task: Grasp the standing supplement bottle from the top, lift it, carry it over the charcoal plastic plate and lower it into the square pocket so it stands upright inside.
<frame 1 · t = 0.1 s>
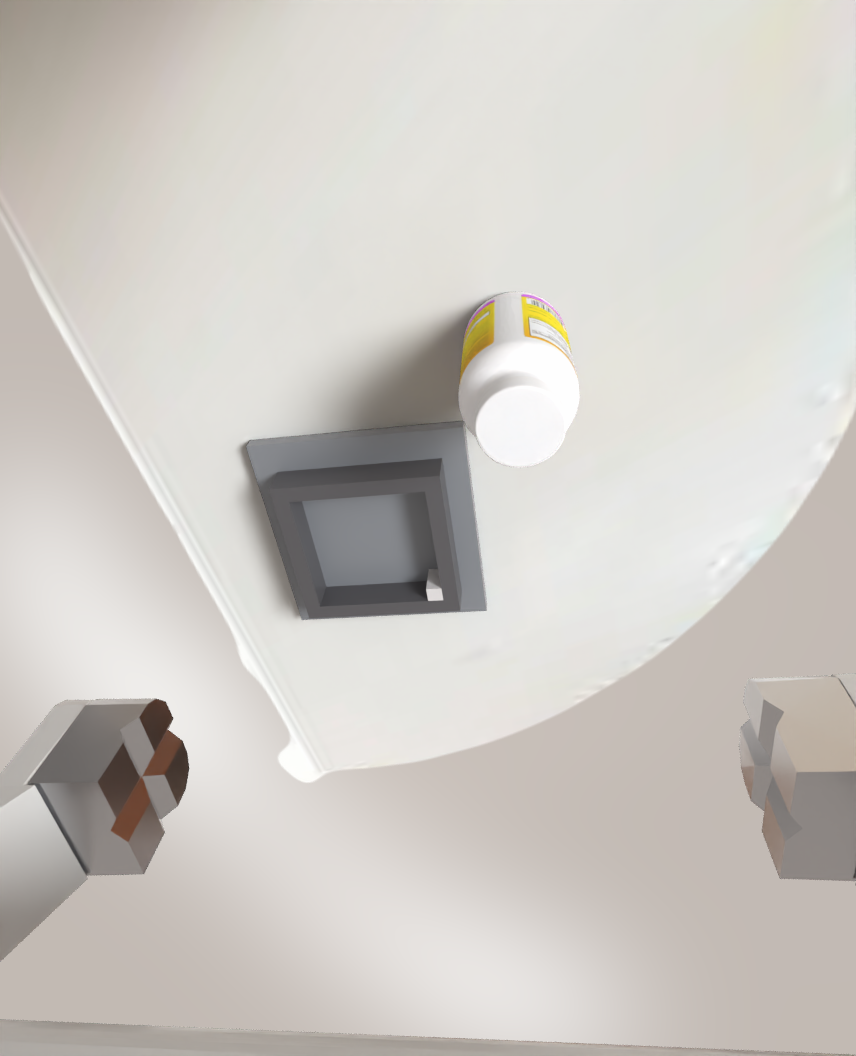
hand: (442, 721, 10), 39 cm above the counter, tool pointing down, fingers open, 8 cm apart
supplement bottle: (515, 338, 46), on the counter
pocket plate: (375, 526, 56), on the counter
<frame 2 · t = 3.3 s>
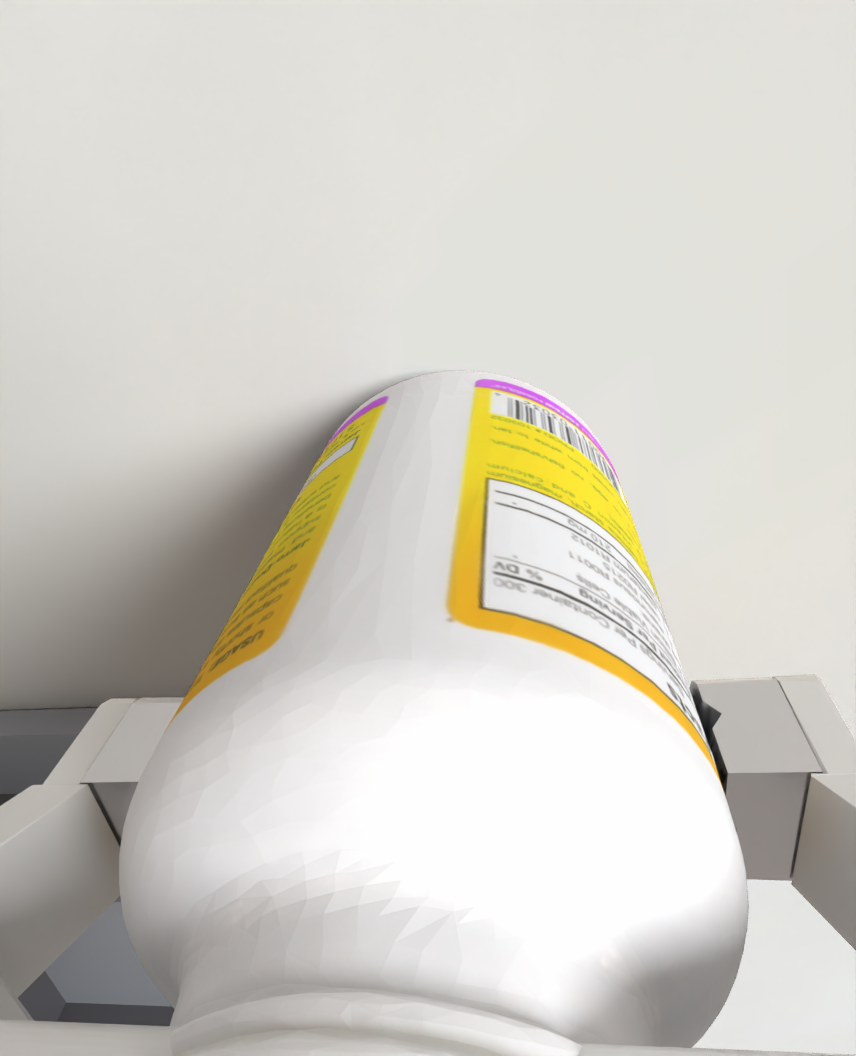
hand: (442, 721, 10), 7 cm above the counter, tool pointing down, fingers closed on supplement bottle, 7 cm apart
supplement bottle: (466, 503, 16), on the counter, touching gripper
pocket plate: (160, 895, 24), on the counter
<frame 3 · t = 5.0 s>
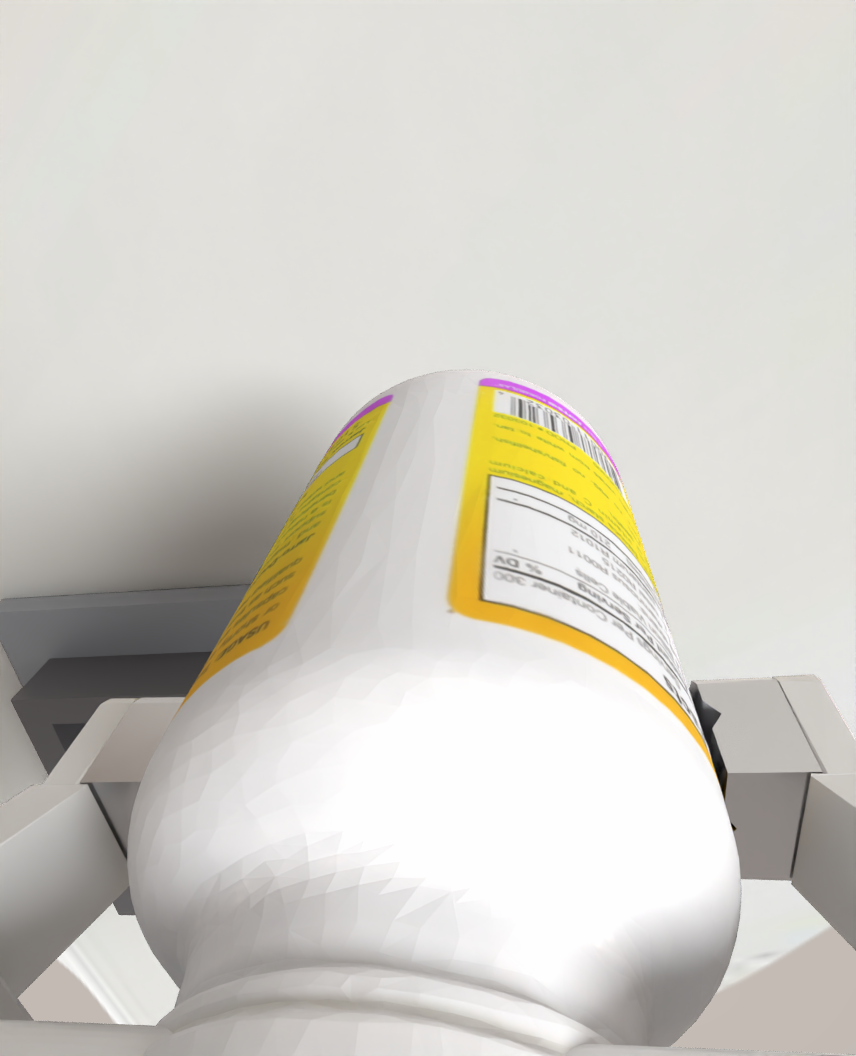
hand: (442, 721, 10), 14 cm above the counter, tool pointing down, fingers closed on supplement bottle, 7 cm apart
supplement bottle: (470, 501, 16), point 7 cm above the counter, touching gripper
pocket plate: (241, 751, 31), on the counter
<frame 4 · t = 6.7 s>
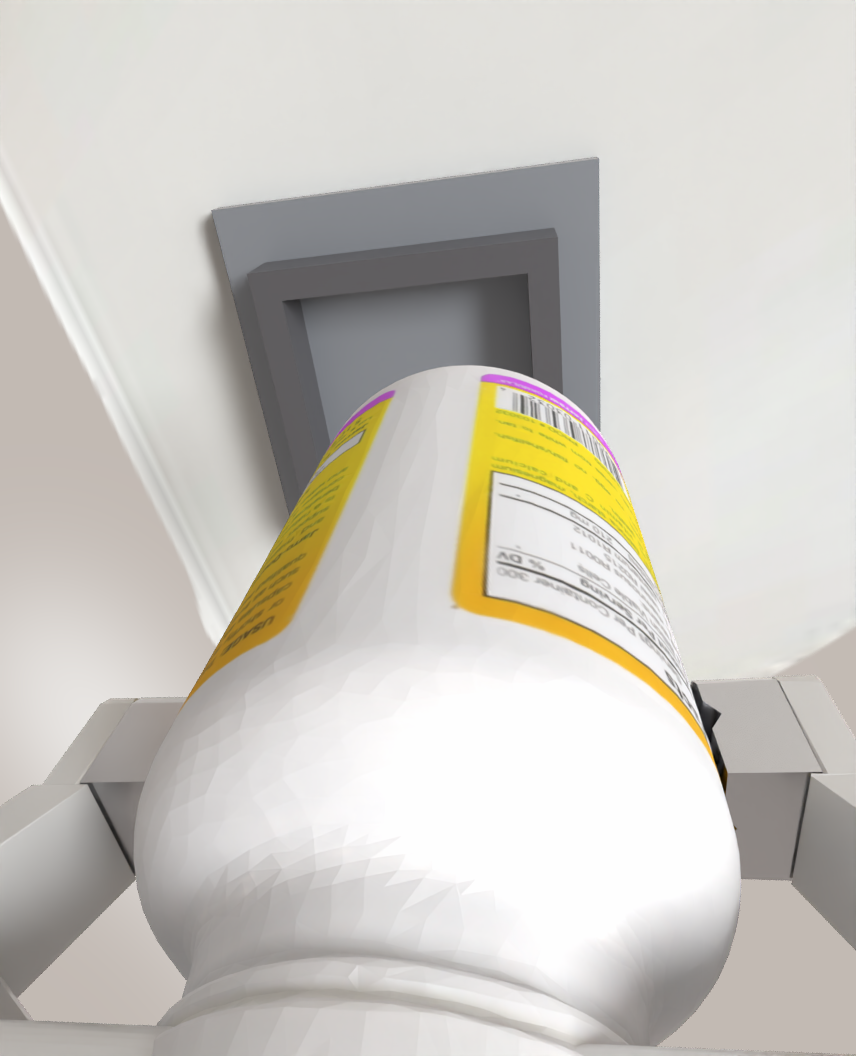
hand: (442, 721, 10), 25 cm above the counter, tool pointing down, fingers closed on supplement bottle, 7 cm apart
supplement bottle: (472, 496, 16), point 18 cm above the counter, touching gripper
pocket plate: (426, 379, 34), on the counter
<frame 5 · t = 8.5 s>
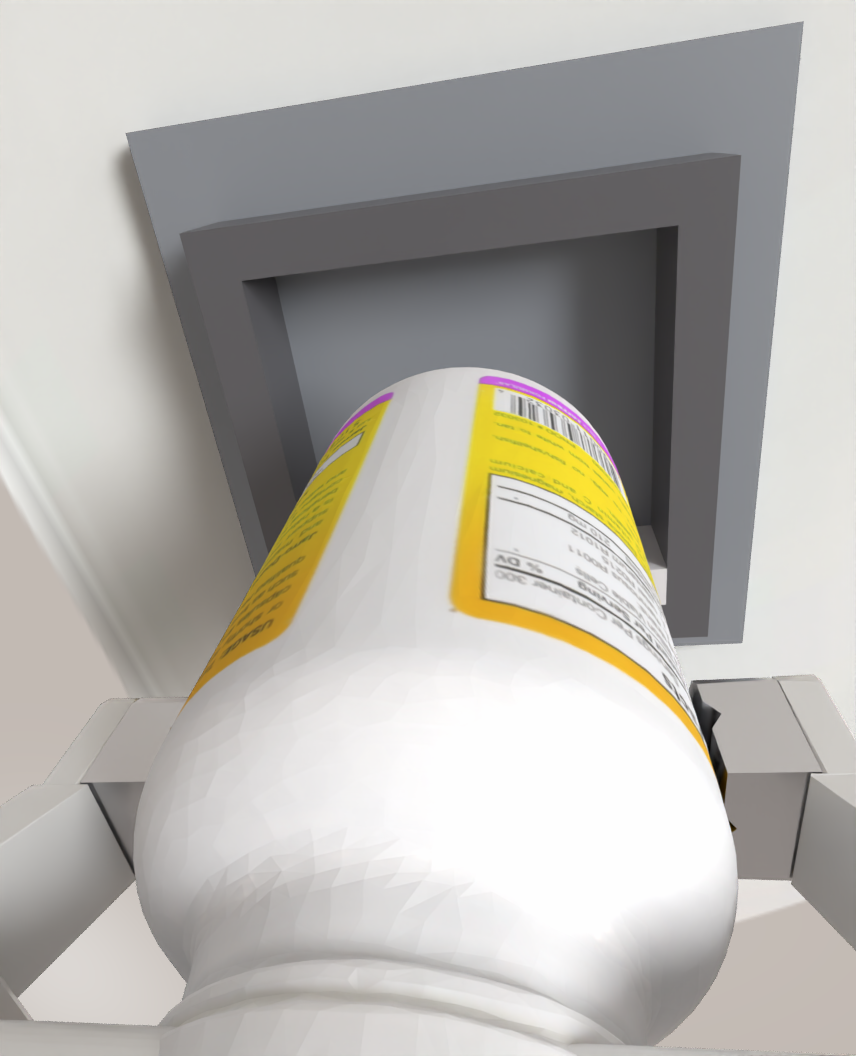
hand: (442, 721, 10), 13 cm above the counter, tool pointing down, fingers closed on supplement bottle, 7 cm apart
supplement bottle: (470, 498, 16), point 6 cm above the counter, touching gripper
pocket plate: (477, 411, 21), on the counter
when the fingers open (9 cm above the counter, at t = 9.9 s): supplement bottle drops 1 cm, resting on pocket plate.
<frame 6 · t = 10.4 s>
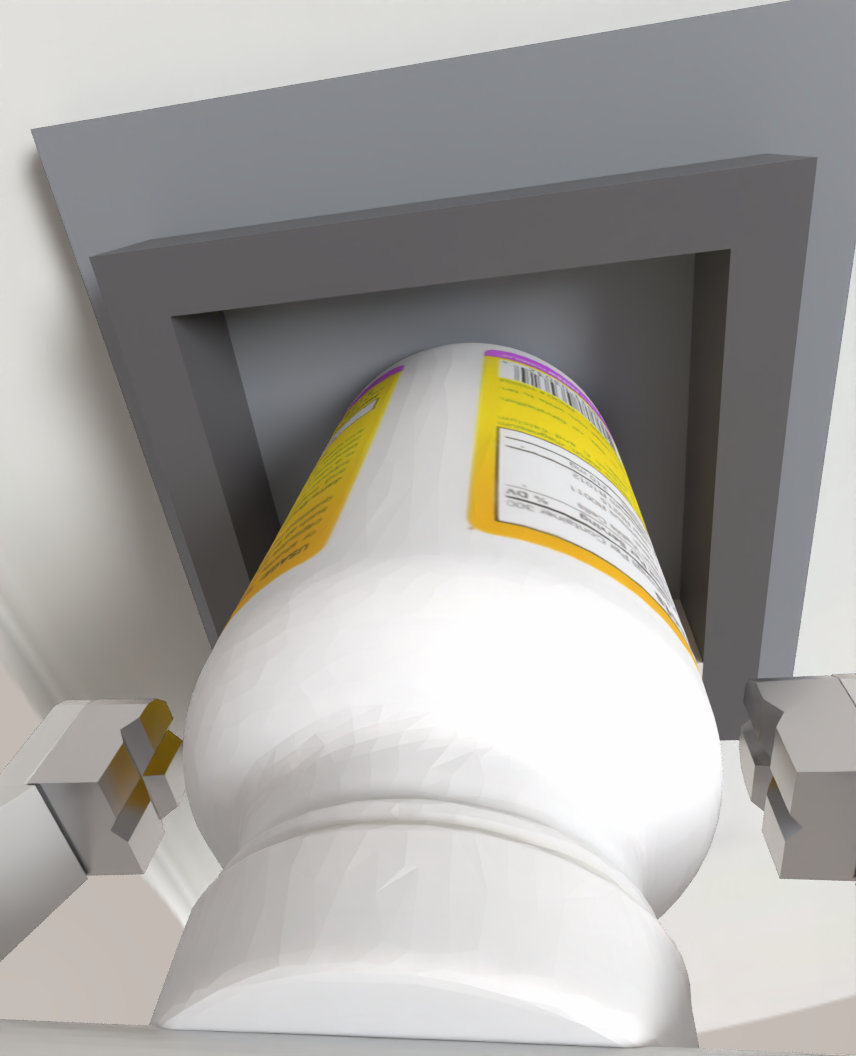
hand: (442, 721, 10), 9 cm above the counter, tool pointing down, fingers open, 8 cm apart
supplement bottle: (474, 470, 17), point 1 cm above the counter, touching pocket plate
pocket plate: (471, 463, 18), on the counter
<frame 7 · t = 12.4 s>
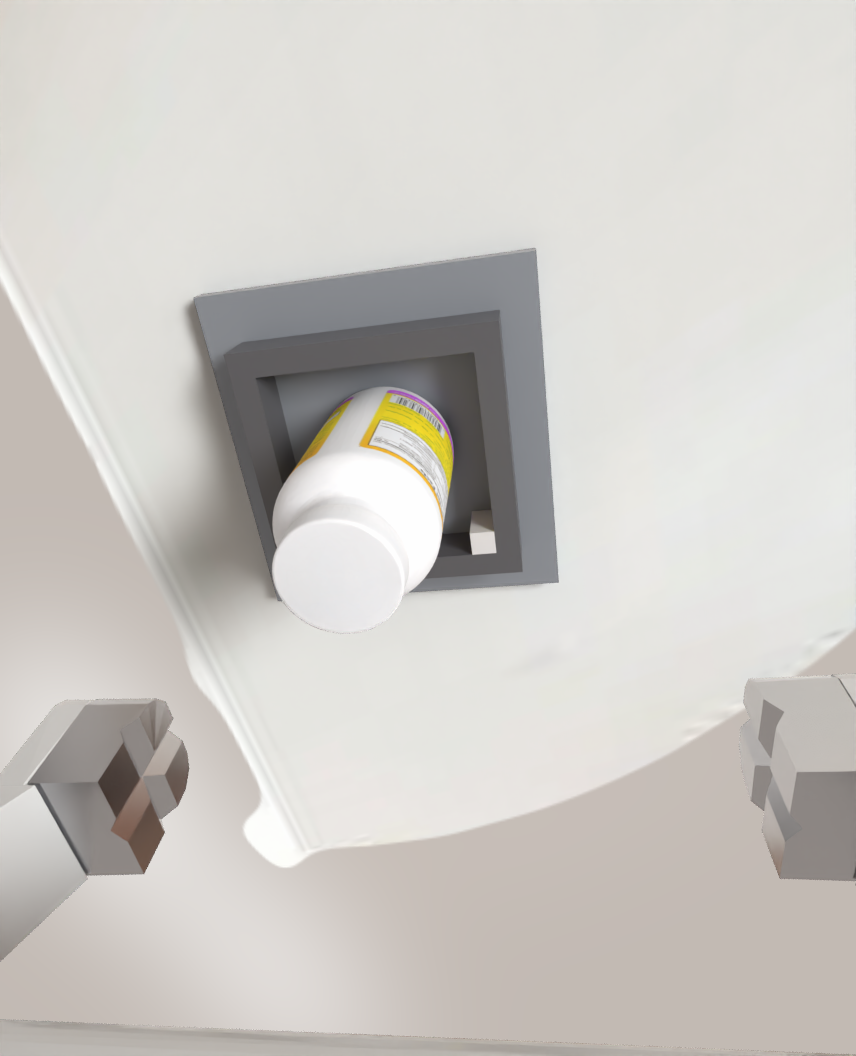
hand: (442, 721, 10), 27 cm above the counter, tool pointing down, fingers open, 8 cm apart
supplement bottle: (391, 445, 36), point 1 cm above the counter, touching pocket plate
pocket plate: (391, 443, 37), on the counter
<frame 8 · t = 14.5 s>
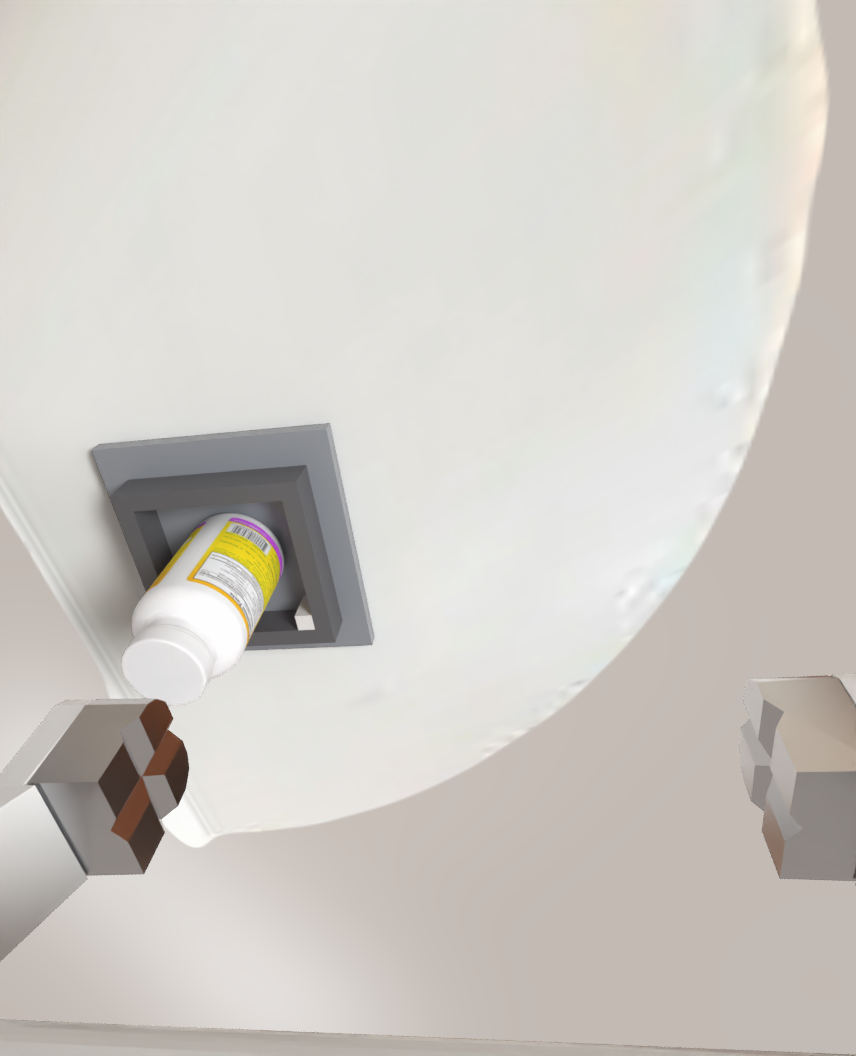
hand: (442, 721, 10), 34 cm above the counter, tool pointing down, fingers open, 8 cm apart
supplement bottle: (241, 549, 49), point 1 cm above the counter, touching pocket plate
pocket plate: (244, 545, 50), on the counter
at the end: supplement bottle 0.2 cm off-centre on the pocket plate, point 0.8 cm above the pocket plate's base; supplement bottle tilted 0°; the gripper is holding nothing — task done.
